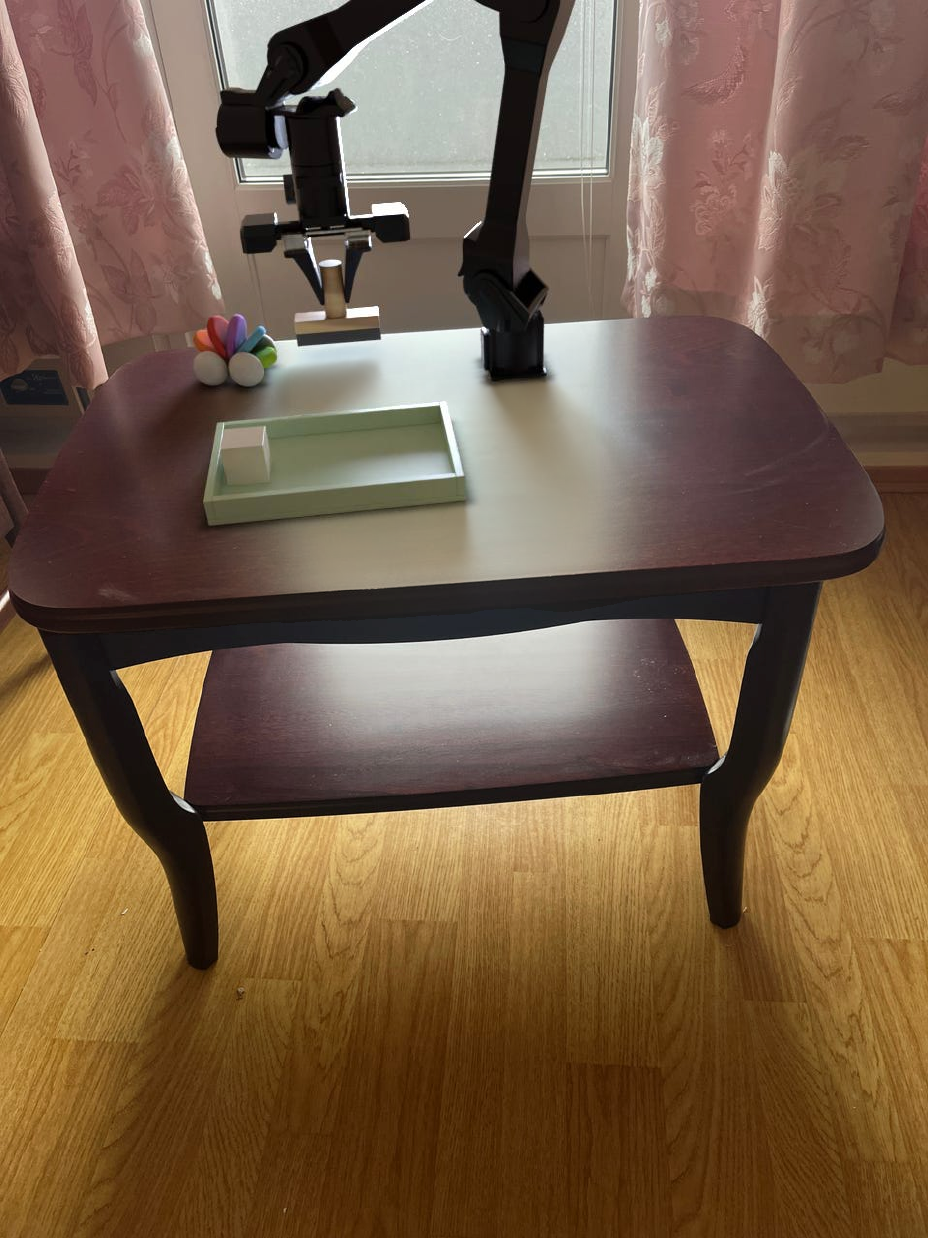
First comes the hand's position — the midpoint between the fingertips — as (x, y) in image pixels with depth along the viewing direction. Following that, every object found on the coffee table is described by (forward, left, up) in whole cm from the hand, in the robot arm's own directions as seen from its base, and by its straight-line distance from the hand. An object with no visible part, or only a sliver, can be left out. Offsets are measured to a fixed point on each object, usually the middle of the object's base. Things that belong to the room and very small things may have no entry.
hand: (335, 303), depth 112 cm
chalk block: (+9, +29, -5) cm, 31 cm away
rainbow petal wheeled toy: (+12, +4, -6) cm, 14 cm away
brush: (0, 0, -4) cm, 4 cm away
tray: (+1, +29, -6) cm, 30 cm away
